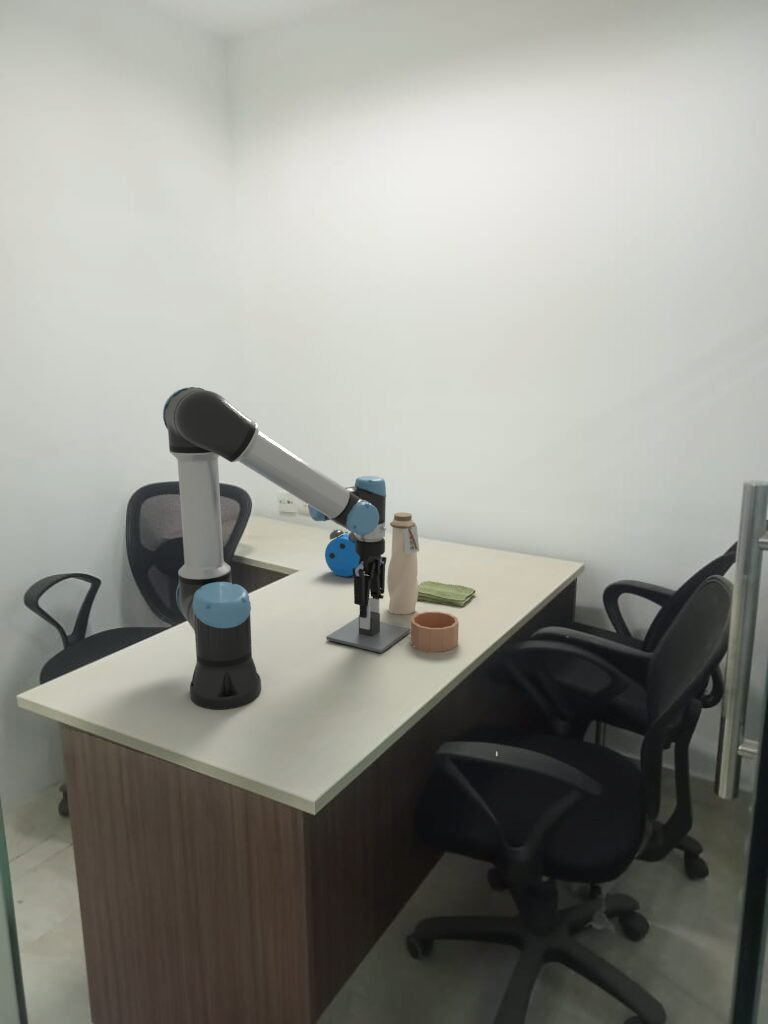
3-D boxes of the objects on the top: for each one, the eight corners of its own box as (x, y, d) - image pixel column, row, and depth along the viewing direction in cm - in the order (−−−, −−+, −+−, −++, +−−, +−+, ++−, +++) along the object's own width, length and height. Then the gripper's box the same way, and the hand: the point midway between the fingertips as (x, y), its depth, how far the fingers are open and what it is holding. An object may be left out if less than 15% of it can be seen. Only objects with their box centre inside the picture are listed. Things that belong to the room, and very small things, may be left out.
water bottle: (427, 610, 205) (429, 515, 199) (406, 619, 199) (408, 520, 192) (400, 601, 212) (402, 509, 206) (379, 609, 206) (380, 514, 199)
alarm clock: (368, 574, 237) (368, 530, 233) (360, 580, 231) (360, 535, 228) (332, 569, 241) (332, 526, 238) (324, 575, 236) (323, 530, 232)
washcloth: (463, 609, 208) (464, 599, 207) (406, 600, 214) (407, 590, 214) (476, 595, 219) (477, 585, 219) (422, 587, 226) (422, 577, 225)
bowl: (445, 655, 176) (446, 632, 175) (403, 645, 182) (403, 623, 180) (464, 638, 186) (465, 616, 185) (423, 629, 192) (423, 608, 190)
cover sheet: (381, 652, 176) (381, 630, 175) (326, 639, 184) (326, 618, 183) (410, 631, 190) (411, 610, 189) (358, 619, 198) (358, 599, 196)
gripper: (365, 548, 172) (365, 639, 177) (399, 532, 187) (397, 617, 192) (339, 543, 176) (339, 633, 181) (374, 528, 190) (373, 612, 195)
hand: (369, 625), depth 186 cm, fingers closed on cover sheet, 4 cm apart
